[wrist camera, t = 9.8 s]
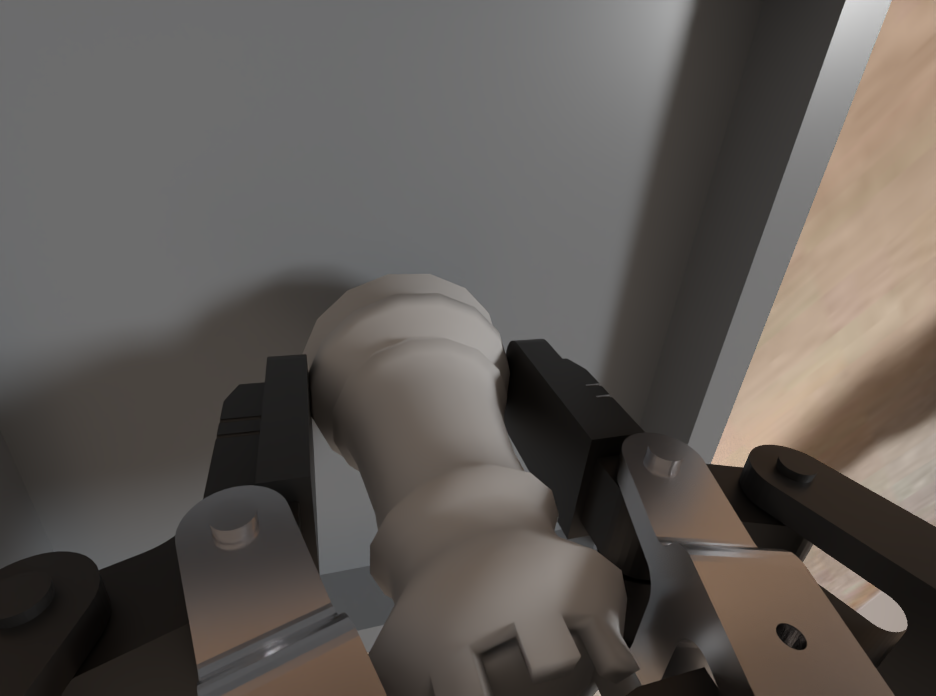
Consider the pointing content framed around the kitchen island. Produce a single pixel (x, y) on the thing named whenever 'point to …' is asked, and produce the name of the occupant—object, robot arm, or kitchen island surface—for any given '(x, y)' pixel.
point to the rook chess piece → (458, 505)
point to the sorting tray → (380, 219)
